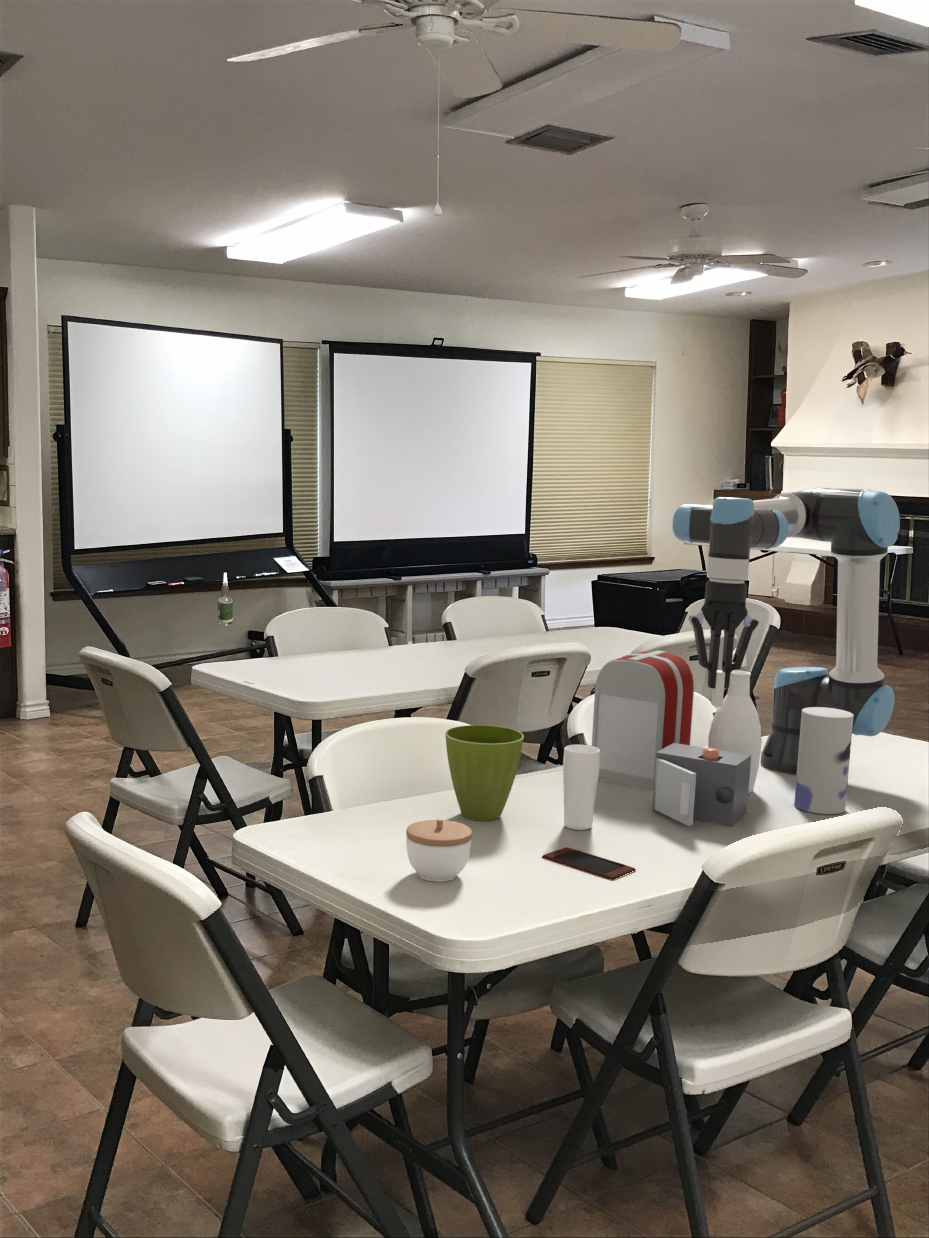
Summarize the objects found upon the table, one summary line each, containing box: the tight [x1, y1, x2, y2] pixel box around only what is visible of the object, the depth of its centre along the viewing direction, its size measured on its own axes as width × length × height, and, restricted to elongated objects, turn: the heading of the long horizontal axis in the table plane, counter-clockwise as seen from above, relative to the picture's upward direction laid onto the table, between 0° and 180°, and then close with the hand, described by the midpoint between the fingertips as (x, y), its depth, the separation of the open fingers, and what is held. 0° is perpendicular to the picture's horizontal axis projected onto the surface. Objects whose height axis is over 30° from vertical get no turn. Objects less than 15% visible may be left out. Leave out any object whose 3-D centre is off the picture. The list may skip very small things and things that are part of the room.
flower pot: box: [444, 724, 525, 822], centre depth 226 cm, size 15×15×16 cm
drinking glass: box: [562, 744, 600, 831], centre depth 222 cm, size 7×7×15 cm
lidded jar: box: [405, 818, 473, 883], centre depth 193 cm, size 11×11×9 cm
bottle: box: [707, 669, 763, 795], centre depth 252 cm, size 11×11×25 cm
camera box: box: [652, 743, 751, 828], centre depth 234 cm, size 11×16×12 cm
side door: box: [652, 758, 696, 827], centre depth 228 cm, size 2×12×10 cm, turn 26°
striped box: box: [591, 649, 695, 792], centre depth 260 cm, size 17×18×27 cm
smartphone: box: [541, 846, 637, 881], centre depth 203 cm, size 7×1×15 cm
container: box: [793, 707, 854, 815], centre depth 241 cm, size 10×10×20 cm
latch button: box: [703, 747, 719, 761], centre depth 231 cm, size 3×3×2 cm
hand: (716, 705), depth 224 cm, fingers closed
